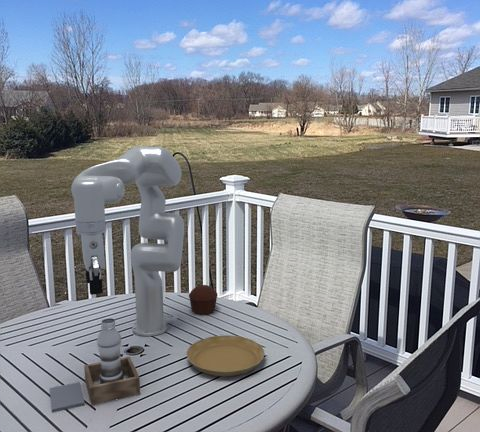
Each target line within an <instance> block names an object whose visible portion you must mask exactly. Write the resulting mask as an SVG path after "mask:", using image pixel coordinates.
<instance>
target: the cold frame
mask: <svg viewBox="0 0 480 432" xmlns="http://www.w3.org/2000/svg"><path fill="white" fill-rule="evenodd" d="M120 362H121V368H122V372H123V376H126V375H127V376H128V377H127V378H124V379H122V380H117V381H113V382H108V383H103V384H100V383H98V384H93V382H97V381H100V373H101V361H100V362H99V361H98V362H95V363H90V364H85V365H83V369H84V379H85V380H84V381H85V382H84V383H85V385H86V390H87V395H88V399H89V402H90V403H89V404H90V406H96V405H100V404H104V403H108V401H109V402H114V401H117V400H116V399H118V400H122V399H126V397H127V398H130V396H131V397H135V395H136V396H139V395H141V382H140V381H141V379H140V376H139V373H138V371H137V369H136V367H135V365H134V362H133V360H132V358H131V356H125V357H120ZM113 400H114V401H113Z"/></svg>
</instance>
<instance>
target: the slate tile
mask: <svg viewBox="0 0 480 432" xmlns="http://www.w3.org/2000/svg"><path fill="white" fill-rule="evenodd" d="M49 394H50V405H51V412H52V413H55V412H61V411H63V410H69V409H73V408H77V407H82V406H85V398H84V394H83V389H82V385H81V381H77V382H73V383H68V384H63V385H59V386H53V387H49Z"/></svg>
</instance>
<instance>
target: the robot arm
mask: <svg viewBox="0 0 480 432" xmlns="http://www.w3.org/2000/svg"><path fill="white" fill-rule="evenodd" d="M182 174H183V173H182V167H181V166H180V163H179V162H178V161H177V159H175V157H174V156H173V155H172V154H171V152H170V151H169V150H168V149H166V148H165V147H162V146H145V145H144V146H142V145H139V146H134V147H132V148H130V149H129V150H128V149H127V151H126V152H124V153H123V154H122V155H120V156H119V157H117V158H115V159H113V160H110V161H107V162H104V163H100V164H97V165H93V166H91V167H89V168H88V167H87V168H86V169H85V170H83V171H82V172H80V173H79V174H78V175H77V176H76V177H74V180H72V181H73V182H72V183H71V190H70V191H71V195H72V197H73V201H74V203H73V204H74V206H73V207H74V217H75V218H74V220H75V234H77V235H80V238H81V241H80V242H81V250H82V251H81V252H82V258H83V263H84V267H85V276H86V284H89V295H91V296H92V295H101V294H103V291H104V290H103V278H102V272H101V269H102V270H105V269H106V260H105V248H104V247H105V246H104V237H103V233H105V232H106V230H107V229H106V212H105V208H106V207H105V205H108V204H109V205H111V204H117V203H119V202H120V201H121V200H122V199H123V198H124V195H125V192H126V187H125V186H129V185H132V184H133V183H135V185H136V187H137V189H138V192H139V194H140V209H139V220H138V234H139V235H140V237H141V238H143V239H147V240H159V241H167V243H157V242H155V243H153V242H141V243H137V244H135V245H134V246H133V247H132V249H131V250H130V263H131V266H132V269H133V270H132V272H133V276H134V294H135V318H136V320H135V321H136V322H135V323H134V324H133V325H132V328H131V329H132V332H133V333H134V334H135V335H137V336H140V337H154V336H158V335H161V334H163V333H165V332H166V331H168V329H169V323H172V322H177V321H178V317H177V316H176V315H174V316H173V315H172V314H167V315H165V314H164V296H163V295H164V293H163V292H164V291H163V287H164V286H163V279H162V277H161V275H160V273H159V272H164V273H165V272H166V273H167V272H168V273H173V272H177V271H178V270H179V269H180V268H181V264H182V258H183V250H184V249H183V248H184V237H185V222H184V219H183V217H182V216H181V215H180V214H178V213H174V212H166V203H167V202H166V197H165V195H164V193H163V191H162V190H161V188H159V187H173V186H174V187H175V186H176V185H179V183H180V182H181V179H182Z"/></svg>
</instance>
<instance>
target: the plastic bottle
mask: <svg viewBox="0 0 480 432" xmlns="http://www.w3.org/2000/svg"><path fill="white" fill-rule="evenodd" d="M100 323H101V328H100V329H101V331H100V333H99V334H98V336H97V339H96V343H97V348H98V352H99V358H100V362H101V373H100V380H99V384H103V383H108V382H113V381H117V380H122V379H125V378H124V376H125V375H123V372H122V368H121V362H120V358H121V346H122V336H121V333H120V332H119V330H117V329H116V327H117V324H116V320H115V318H112V317H110V318H104V319H102V320H101V322H100Z"/></svg>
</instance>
